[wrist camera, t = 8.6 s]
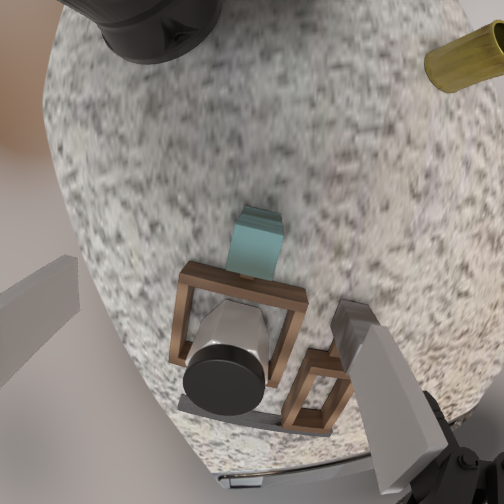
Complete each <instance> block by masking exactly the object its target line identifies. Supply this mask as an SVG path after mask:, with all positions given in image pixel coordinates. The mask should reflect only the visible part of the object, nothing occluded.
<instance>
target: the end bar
mask: <svg viewBox="0 0 504 504" xmlns="http://www.w3.org/2000/svg"><path fill="white" fill-rule="evenodd" d="M178 410H180V411H183V412H187V413H190V414H194V415H198V416H202V417H206V418H210V419H214V420H218V421H223V422H227V423H232V424H237V425H242V426H247V427H253V428H258V429H264V430H270V431H277V432H284V433H292V434H300V435H309V436H320V437H330V436H331V434H332V433H333V430H332V428H331V430H330V431H329V433H328V434H322V433H311V432H302V431H294V430H286V429H282V426H281V416H280V415H274V414H268V413H262V412H256V411H249V412H247V413H245V414H241V415H236V416H222V415H217V414H213V413H210V412H207V411H205V410H203V409H201V408H200V407H198V406H197V405H195V404H194V403H193V402H192V401H191V400H190V399H189V397H188V396H187V395H184V394H182V395H181V398H180V401H179V403H178Z"/></svg>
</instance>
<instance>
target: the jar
mask: <svg viewBox="0 0 504 504" xmlns="http://www.w3.org/2000/svg"><path fill="white" fill-rule="evenodd" d="M268 356H269V335H268V332H267V329H266V326H265V322H264V319H263V316H262V312H261V309H260V308H256V307H252V306H248V305H245V304H241V303H237V302H233V301H230V300H224V301H223V302H222V303H221V304H220V305H219V306H217V307H216V308H215V309H214V310H213V311H212V312H211V313H210V314H209V315H208V316H206V317H205V318H204V319H203V320H202V322H201V325H200V327H199V330H198V332H197V334H196V337H195V339H194V342H193V344H192V346H191V349H190V351H189V354H188V356H187V358H186V361H185V364H186V366H187V369H186V371H185V374H184V377H183V387H184V390H185V393H186V394H187V396H188V397H189V399H190V400H191V401H192V402H193V403H194V404H195V405H197V406H198V407H200V408H201V409H203V410H205V411H207V412H210V413H213V414H217V415H222V416H236V415H241V414H245V413H247V412H249V411H251V410H253V409H254V408H256V407H257V406H258V405H259V404H260V402H261V401H262V398H263V395H264V389H265V385H266V384H267V383H268Z"/></svg>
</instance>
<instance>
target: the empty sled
mask: <svg viewBox="0 0 504 504" xmlns="http://www.w3.org/2000/svg"><path fill="white" fill-rule="evenodd" d="M371 324H373V325H379V326H381V325H380V323H379V322H378V320H377V318H376V317H375V315H374V313H373V312H372V310H371V308H370V307H369V305H366V304H361V303H356V302H352V301H347V300H343V299H341V300H340V302H339V305H338V308H337V310H336V313H335V315H334V318H333V320H332V323H331V325H330V327H331V330H332V333H333V336H334V340H333V342H332V344H331V347H330V349H329V351H328V352H325V351H320V350H314V349H309V348H308V350H307V353H306V355H305V358H304V360H303V363H302V365H301V367H300V370H299V372H298V374H297V377H296V379H295V381H294V384H293V386H292V388H291V390H290V393H289V395H288V397H287V399H286V401H285V404H284V406H283V408H282V410H281V426H282V429H286V430H294V431H302V432H311V433H322V434H328V433H329V431H330V430H331V428H332V426H333V425H334V423H335V422H336V420H337V419H338V417H339V416H340V414H341V412H342V411H343V409H344V407H345V406H346V404H347V403H348V401H349V399H350V398H351V396H352V394H353V392H354V389H353V385H352V382H351V378H350V375H349V372H350V370H351V368H352V366H353V364H354V362H355V360H356V357H357V355H358V353H359V351H360V349H361V347H362V345H363V342H364V340H365V338H366V336H367V333H368V331H369V329H370V327H371ZM317 375H320V376H327V377H333V378H338V380H337V382H336V384H335V386H334V387H333V389H332V391H331V393H330V395H329V397H328V399H327V400H326V402H325V404H324V406H323V407H322V409H321V411H318V410H310V409H303V408H301V407H302V405H303V403H304V401H305V399H306V397H307V395H308V393H309V391H310V389H311V387H312V385H313V382H314V380H315V378H316V376H317Z"/></svg>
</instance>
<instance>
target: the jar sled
mask: <svg viewBox="0 0 504 504" xmlns="http://www.w3.org/2000/svg"><path fill="white" fill-rule="evenodd" d="M283 239H284V232H283V225H282V219H281V214H277V213H273V212H269V211H265V210H261V209H257V208H253V207H249V206H245V208H244V210H243V211H242V213H241V215H240V217H239V218H238V220H237V222H236V224H235V227H234V232H233V236H232V241H231V245H230V250H229V254H228V259H227V263H226V268H225V270H223V269H219V268H215V267H211V266H207V265H203V264H199V263H195V262H191V261H189V262H188V263H187V264H186V265H185V267H184V268H183V269H182V270H181V272H180V274H179V280H178V287H177V294H176V302H175V309H174V317H173V325H172V333H171V342H170V351H169V361H168V362H169V363H172V364H176V365H179V366H183V367H186V368H187V366H186V364H185V361H186V358H187V356H188V354H189V351H190V349H191V346H192V344H193V343H191V342H187V341H186V336H187V329H188V323H189V316H190V310H191V304H192V298H193V292H194V287H197V288H200V289H204V290H208V291H212V292H216V293H220V294H224V295H228V296H232V297H236V298H240V299H244V300H249V301H253V302H257V303H261V304H266V305H270V306H274V307H279V308H283V309H288V313H287V316H286V319H285V322H284V325H283V328H282V331H281V334H280V337H279V340H278V342H277V345H276V348H275V351H274V354H273V357H272V360H271V362H270V361H268V383H267V384H266V385H265V386H267V387H273V388H277V387H278V385H279V382H280V380H281V377H282V375H283V372H284V369H285V367H286V364H287V362H288V359H289V357H290V354H291V351H292V349H293V346H294V343H295V341H296V338H297V335H298V333H299V330H300V327H301V324H302V322H303V319H304V316H305V313H306V310H307V307H308V305H309V303H308V299H307V295H306V291H305V289H302V288H298V287H294V286H289V285H285V284H281V283H277V282H272V279H273V275H274V271H275V268H276V264H277V261H278V257H279V253H280V250H281V246H282V242H283ZM227 270H228V271H227ZM231 271H232V272H231ZM235 272H236V273H235ZM239 273H240V274H239ZM256 277H257V278H256ZM260 278H261V279H260ZM264 279H265V280H264ZM268 280H269V281H268Z"/></svg>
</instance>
